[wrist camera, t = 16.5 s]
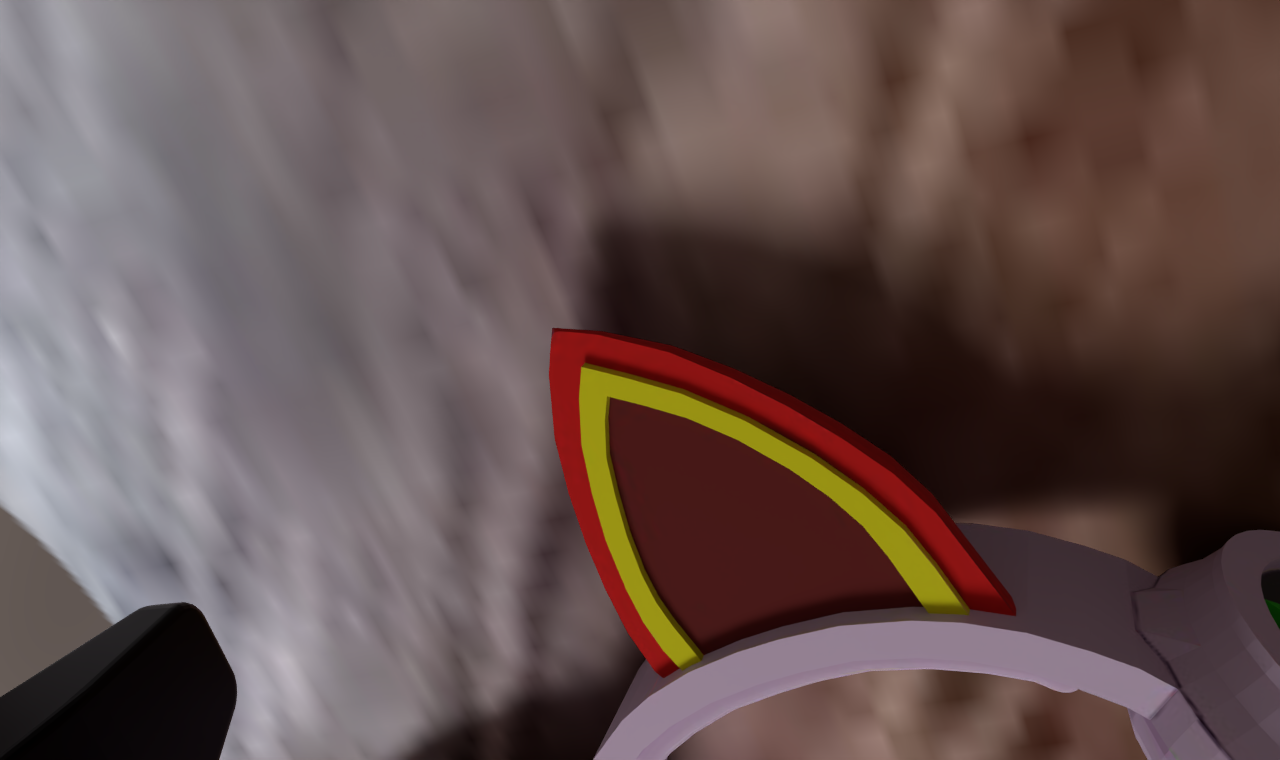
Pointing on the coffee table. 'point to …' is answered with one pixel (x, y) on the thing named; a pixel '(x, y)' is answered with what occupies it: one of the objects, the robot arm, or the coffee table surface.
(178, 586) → the coffee table surface
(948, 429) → the coffee table surface
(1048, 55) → the coffee table surface
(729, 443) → the headphones
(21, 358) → the coffee table surface
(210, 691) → the robot arm
